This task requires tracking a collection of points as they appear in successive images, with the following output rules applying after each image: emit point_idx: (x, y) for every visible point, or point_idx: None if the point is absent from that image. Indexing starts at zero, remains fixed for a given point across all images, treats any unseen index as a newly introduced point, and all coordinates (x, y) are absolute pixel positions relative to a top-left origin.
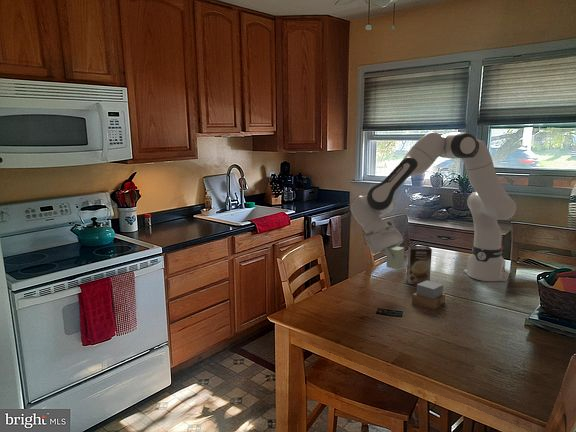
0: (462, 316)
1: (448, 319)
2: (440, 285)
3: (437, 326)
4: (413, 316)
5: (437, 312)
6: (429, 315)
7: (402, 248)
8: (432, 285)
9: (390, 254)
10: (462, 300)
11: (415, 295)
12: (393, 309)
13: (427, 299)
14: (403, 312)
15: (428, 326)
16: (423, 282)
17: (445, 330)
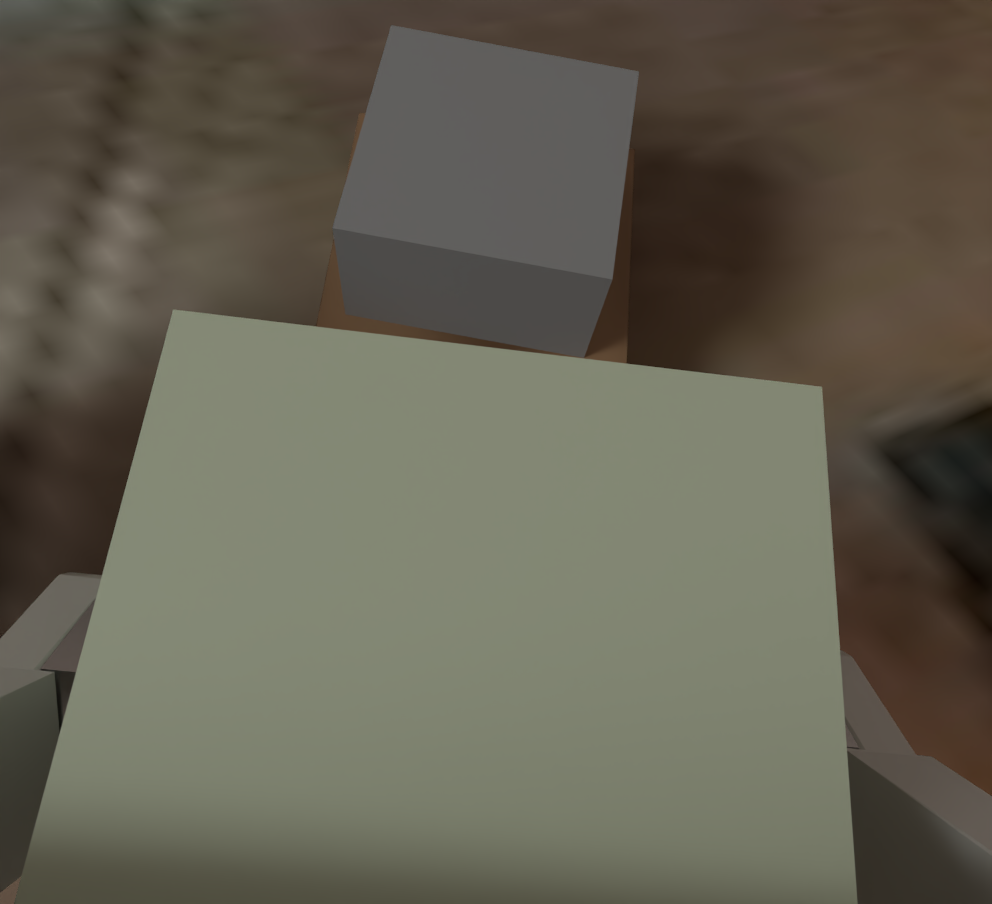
0: (583, 15)
1: (723, 81)
2: (439, 42)
3: (914, 113)
4: (899, 316)
5: (649, 180)
6: (766, 214)
7: (344, 341)
8: (508, 113)
9: (901, 752)
10: (196, 78)
11: (625, 357)
12: (913, 541)
13: (631, 223)
14: (895, 425)
15: (972, 163)
16: (467, 233)
17: (928, 56)
